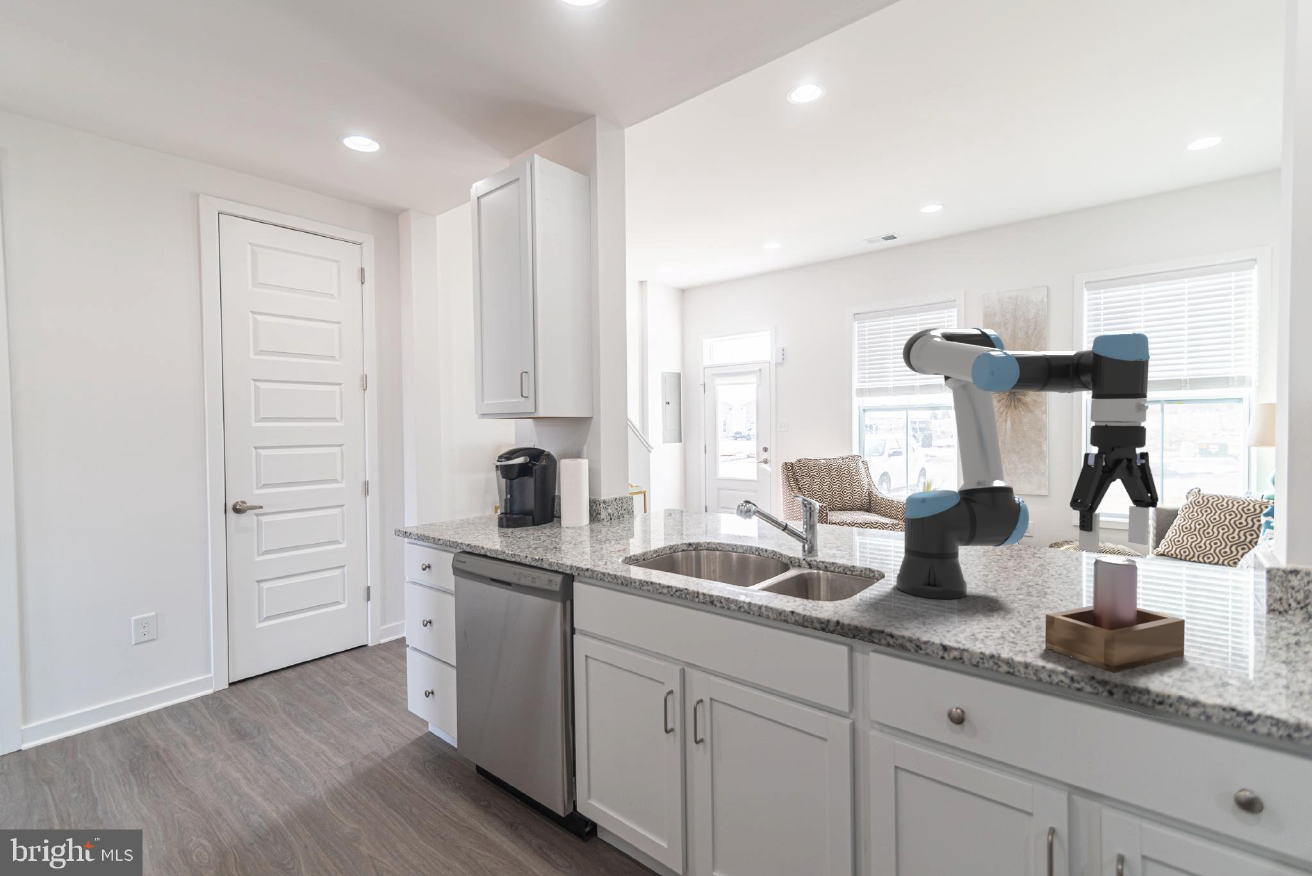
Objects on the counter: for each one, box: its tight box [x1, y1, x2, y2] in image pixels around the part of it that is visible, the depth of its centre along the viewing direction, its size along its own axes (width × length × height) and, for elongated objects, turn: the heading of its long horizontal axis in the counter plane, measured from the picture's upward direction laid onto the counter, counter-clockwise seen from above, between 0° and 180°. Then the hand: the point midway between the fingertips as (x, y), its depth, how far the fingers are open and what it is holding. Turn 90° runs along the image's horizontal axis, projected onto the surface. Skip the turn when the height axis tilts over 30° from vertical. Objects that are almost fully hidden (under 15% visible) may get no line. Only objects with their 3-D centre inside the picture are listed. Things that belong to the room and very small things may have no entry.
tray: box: [1044, 605, 1186, 673], centre depth 102 cm, size 11×19×6 cm, turn 112°
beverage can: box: [1092, 555, 1139, 631], centre depth 102 cm, size 6×6×15 cm
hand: (1113, 547), depth 102 cm, fingers open, 13 cm apart
